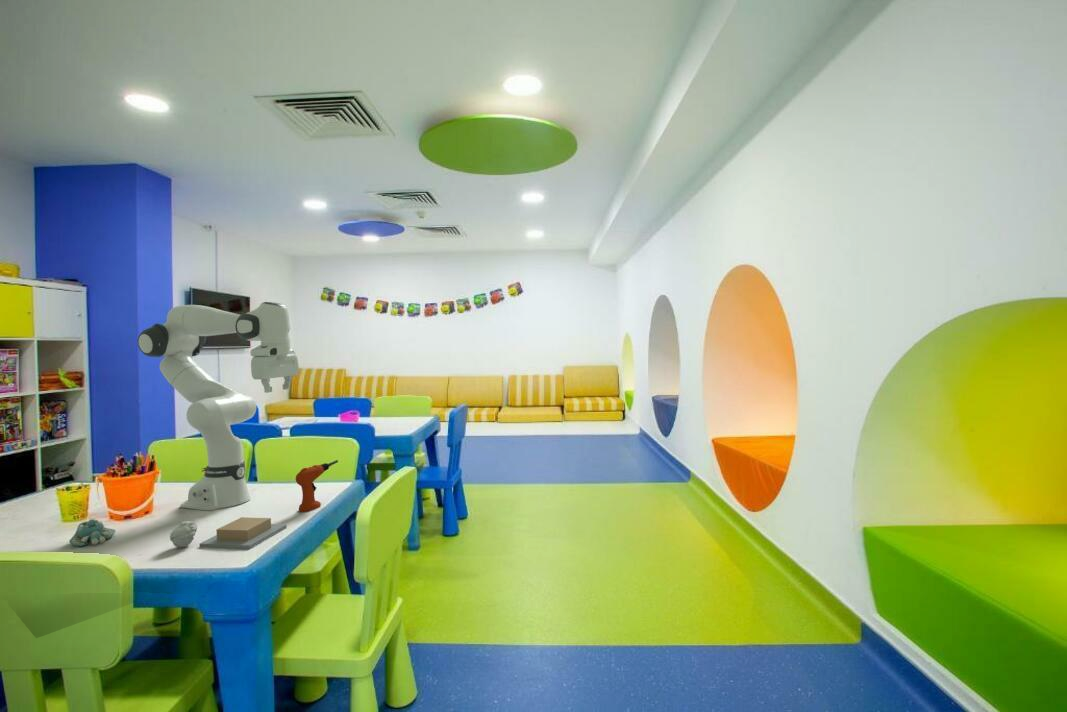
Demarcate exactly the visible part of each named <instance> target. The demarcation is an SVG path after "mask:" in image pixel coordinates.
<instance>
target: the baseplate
mask: <svg viewBox="0 0 1067 712" xmlns="http://www.w3.org/2000/svg"><path fill="white" fill-rule="evenodd" d="M271 520H272V517H239V518H238V519H235V520H233V521H231V522H229V523H227V524H225V525H223V526H221V527H219V528H217V529H216V535H213V536H212V537H210V538H208V539H206V540H204V541H202V542H200V543H199V548H215V549H216V548H217V549H219V548H220V549H238V548H240V550H241V548H243V549H244V550H247V549H248V550H251V549H253V548H254V547H256V546H257V544H258V545H260V544H262V541H263V542H264V540H265V541H266V540H268V539H270V538H272V537H273V536H275V535H277V534H278V533H280V532H282V531H283V530H285V529H287V528H286V527H287V524H285V523H284V524H281V523H277V524H276V523H272V521H271ZM269 537H270V538H269ZM255 545H256V546H255ZM252 547H253V548H252ZM250 548H251V549H250Z"/></svg>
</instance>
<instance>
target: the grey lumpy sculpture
mask: <svg viewBox="0 0 1067 712" xmlns="http://www.w3.org/2000/svg"><path fill="white" fill-rule="evenodd" d="M197 525H198V524H196V522H193V521H190V520H185V521H181V522H180V524H178V525H177V526H176V527H175V528H174V529H173V530H172V532H171V533H170V535H169V540H170V542H172V544H173V545H174V547H176V548H182V549H183V548H187V547H188V546H189V545H191V544H192V542H193V540H194V539H195V538H194V537H195V535H196V533H197V531H198V526H197Z"/></svg>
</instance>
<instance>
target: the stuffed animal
mask: <svg viewBox="0 0 1067 712" xmlns="http://www.w3.org/2000/svg"><path fill="white" fill-rule="evenodd" d="M115 534H116V529H113V528H109V527H106V526H104V523H103V521H100V520H98V519H94V518H91V519H89V520H88V521H82V522H80V523H79V524H78V526H77V528H76V530H75V533H74V535H72V537H71V538H70V539H69V544H70V545H71V546H73V545H74V546H73V547H77V546H80V547H85V546H87V545H89V543H88V542H91V544H92V545H94V546H95V545H97V544H99V543H101V544H103V543H104V542H106V541H107V540H106V539H108V540H110V539H112V537H113V536H114V535H115ZM87 540H90V541H87ZM86 544H87V545H86ZM84 545H85V546H84Z"/></svg>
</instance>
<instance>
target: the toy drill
mask: <svg viewBox="0 0 1067 712" xmlns="http://www.w3.org/2000/svg"><path fill="white" fill-rule="evenodd" d="M337 463H339V460H338V459H336V460H334V461H332V462H328V463H327V462H326V463H325V462H324V463H322V464H314V465H311V466H309V467H303V468H302V469H300V471H298V472H297V474H296V476H295V482H296V483H297V485H299V486H300V487H301V491H302V492H301V493H302V498H301V499H302V500H301V504H299V506H298V512H299V511H301V512H300V513H305V512H306V511H307V512H311V511H313V510H317V509H319V508H320V507H321V505H322V503H321V502H320V501H319V500H316V498H315V491H316V490H317V486H316V485H315V484H314V483H315V481H316V480H317V479H318V478H319V477H320V476H322V474H324V473H325V472H326V471H327V470H329V468H330V467H331V466H334V465H335V464H337ZM307 512H306V513H307Z"/></svg>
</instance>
